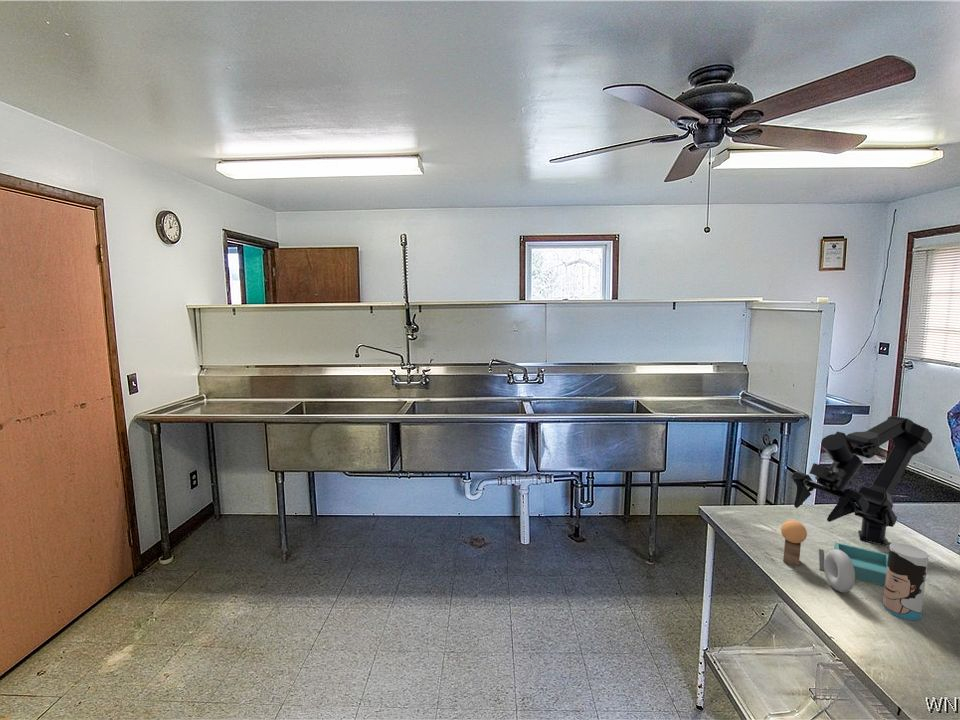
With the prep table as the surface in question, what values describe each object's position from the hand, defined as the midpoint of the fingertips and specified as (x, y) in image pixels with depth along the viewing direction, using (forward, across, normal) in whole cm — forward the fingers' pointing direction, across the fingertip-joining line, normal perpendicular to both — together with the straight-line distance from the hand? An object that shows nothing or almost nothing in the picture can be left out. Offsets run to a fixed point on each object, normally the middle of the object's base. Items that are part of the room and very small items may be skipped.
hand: (811, 513), depth 134 cm
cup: (+11, +24, +7) cm, 28 cm away
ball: (+8, 0, -2) cm, 8 cm away
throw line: (+8, +3, +11) cm, 13 cm away
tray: (+4, +10, +14) cm, 18 cm away
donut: (+15, +13, +4) cm, 20 cm away
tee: (+14, 0, +5) cm, 14 cm away
